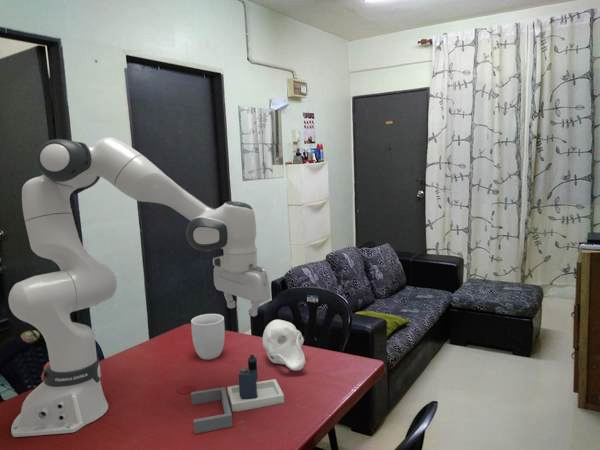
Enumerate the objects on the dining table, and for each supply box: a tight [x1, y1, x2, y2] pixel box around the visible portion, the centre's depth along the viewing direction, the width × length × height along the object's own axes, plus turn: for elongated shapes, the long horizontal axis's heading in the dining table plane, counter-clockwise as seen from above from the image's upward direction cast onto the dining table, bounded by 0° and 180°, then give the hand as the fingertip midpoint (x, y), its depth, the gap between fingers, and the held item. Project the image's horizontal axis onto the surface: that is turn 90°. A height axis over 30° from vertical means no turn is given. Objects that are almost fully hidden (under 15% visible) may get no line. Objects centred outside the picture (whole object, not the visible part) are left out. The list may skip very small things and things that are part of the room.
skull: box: [262, 319, 306, 371], centre depth 147 cm, size 13×14×20 cm
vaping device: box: [238, 354, 259, 399], centre depth 125 cm, size 3×5×12 cm, turn 89°
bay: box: [190, 386, 233, 435], centre depth 119 cm, size 9×15×3 cm, turn 16°
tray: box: [226, 378, 285, 413], centre depth 126 cm, size 14×10×2 cm
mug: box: [190, 313, 226, 360], centre depth 157 cm, size 15×11×13 cm
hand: (241, 311), depth 125 cm, fingers open, 8 cm apart
